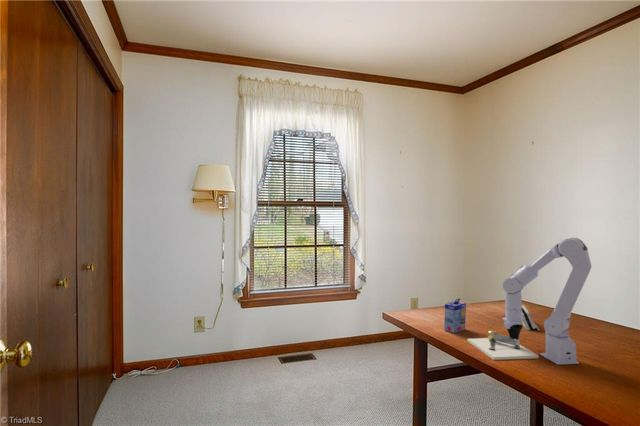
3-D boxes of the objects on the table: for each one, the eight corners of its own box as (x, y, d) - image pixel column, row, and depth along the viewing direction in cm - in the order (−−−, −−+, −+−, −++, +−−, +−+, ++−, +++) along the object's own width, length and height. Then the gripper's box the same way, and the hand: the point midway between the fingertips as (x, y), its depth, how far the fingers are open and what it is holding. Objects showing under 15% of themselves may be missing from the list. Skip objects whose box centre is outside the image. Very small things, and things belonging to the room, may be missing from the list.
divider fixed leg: (490, 341, 149) (490, 338, 149) (494, 342, 149) (494, 339, 149) (489, 349, 140) (489, 346, 140) (493, 350, 140) (493, 347, 140)
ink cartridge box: (455, 333, 163) (454, 300, 163) (443, 330, 167) (443, 298, 167) (466, 329, 169) (466, 297, 169) (455, 326, 173) (455, 295, 173)
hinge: (539, 330, 165) (531, 309, 166) (528, 333, 167) (520, 312, 168) (530, 320, 181) (522, 301, 182) (520, 323, 183) (512, 303, 184)
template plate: (538, 358, 134) (538, 353, 134) (493, 359, 133) (493, 355, 133) (507, 339, 154) (506, 335, 154) (467, 341, 153) (467, 337, 153)
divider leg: (486, 339, 150) (486, 331, 150) (490, 338, 152) (490, 329, 152) (517, 348, 140) (517, 339, 140) (521, 346, 142) (521, 337, 142)
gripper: (509, 303, 152) (510, 336, 152) (495, 309, 142) (495, 345, 142) (528, 306, 147) (529, 340, 147) (514, 313, 137) (515, 350, 137)
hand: (514, 343), depth 144 cm, fingers closed, pressing on divider leg
